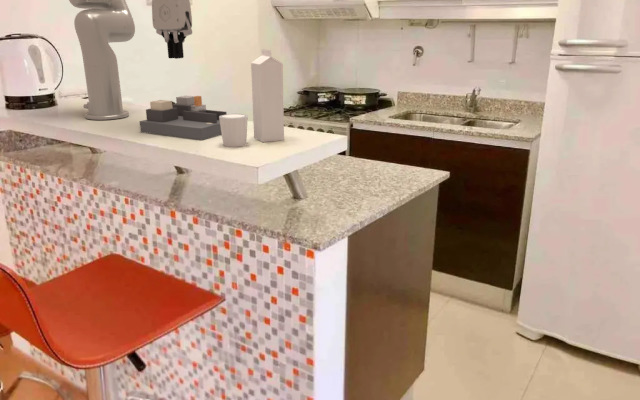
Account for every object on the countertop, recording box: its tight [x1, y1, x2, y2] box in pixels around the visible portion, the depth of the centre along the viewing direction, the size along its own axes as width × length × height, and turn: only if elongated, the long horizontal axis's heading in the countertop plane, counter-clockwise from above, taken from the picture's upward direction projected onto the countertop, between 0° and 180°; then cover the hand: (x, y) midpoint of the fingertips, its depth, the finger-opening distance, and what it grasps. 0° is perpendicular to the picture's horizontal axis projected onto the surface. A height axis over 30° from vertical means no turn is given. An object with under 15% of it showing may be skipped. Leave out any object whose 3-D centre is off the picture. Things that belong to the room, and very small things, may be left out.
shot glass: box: [219, 113, 249, 148], centre depth 129 cm, size 7×7×7 cm
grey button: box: [175, 95, 195, 106], centre depth 152 cm, size 4×4×4 cm
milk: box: [250, 48, 285, 143], centre depth 133 cm, size 6×6×22 cm
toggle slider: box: [191, 95, 207, 113], centre depth 144 cm, size 3×3×6 cm
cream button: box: [149, 99, 173, 111], centre depth 144 cm, size 4×4×4 cm
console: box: [139, 104, 228, 141], centre depth 146 cm, size 21×19×6 cm
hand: (176, 57), depth 143 cm, fingers closed
